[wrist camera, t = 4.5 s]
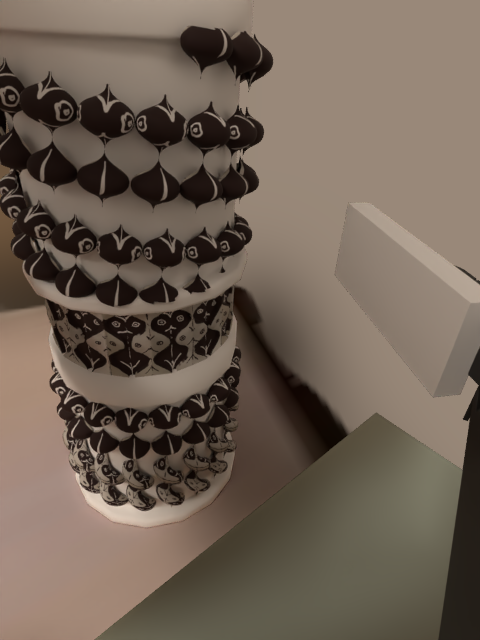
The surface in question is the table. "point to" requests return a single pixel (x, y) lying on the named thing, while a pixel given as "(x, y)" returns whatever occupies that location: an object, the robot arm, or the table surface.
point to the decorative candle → (134, 232)
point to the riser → (323, 554)
